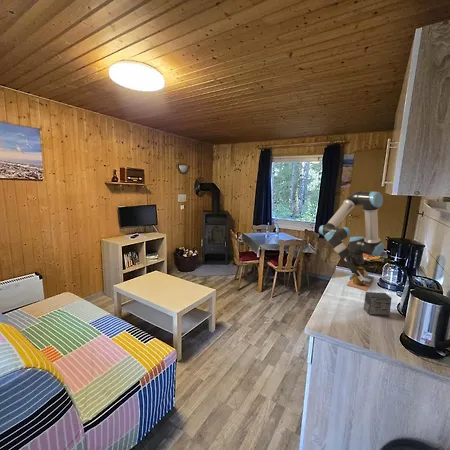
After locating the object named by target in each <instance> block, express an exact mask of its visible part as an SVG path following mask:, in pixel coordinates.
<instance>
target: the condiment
mask: <svg viewBox="0 0 450 450" xmlns="http://www.w3.org/2000/svg"><path fill="white" fill-rule="evenodd" d="M355 268H356V270H357V271H359V273H360V274H361V275H362V276H363V277H364V270H365V267H363V266H362V267H360V266H355ZM353 274H354V276H353V282H351V280H349V282H351V283H353V284H354V285H355V286H367V285H366V284H365V283H363V281H360V279H359V278H358V277H357V276H356V275H355V273H353Z"/></svg>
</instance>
